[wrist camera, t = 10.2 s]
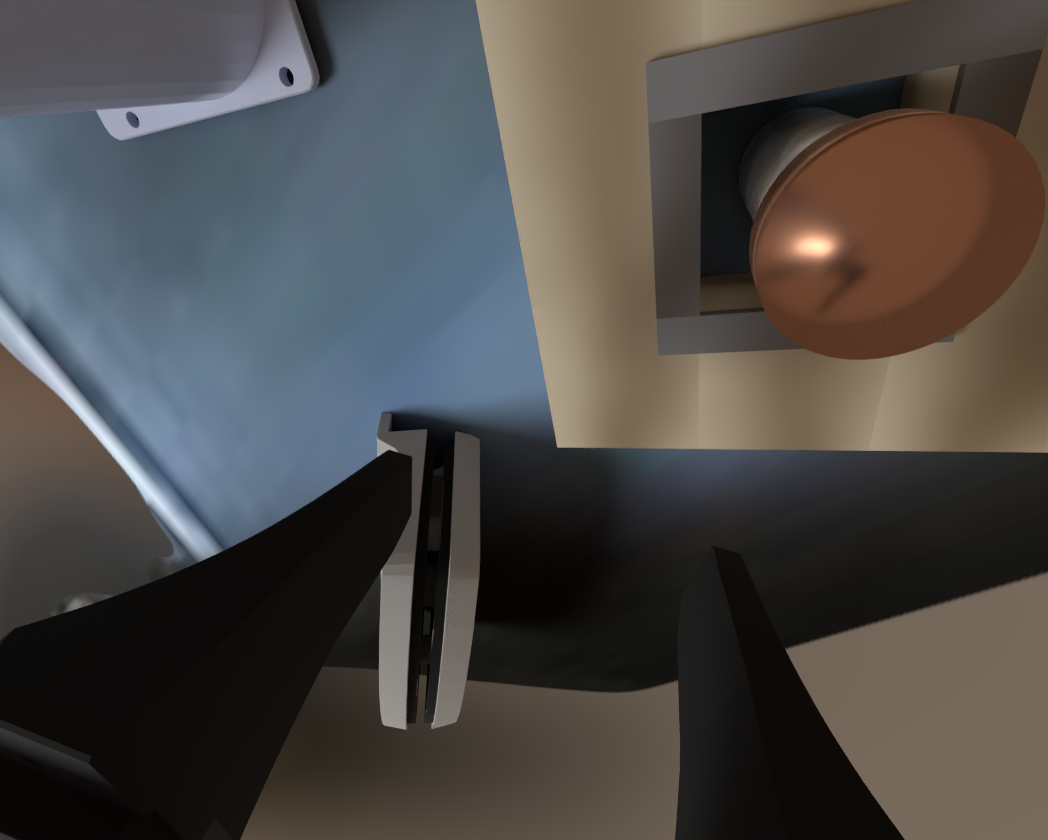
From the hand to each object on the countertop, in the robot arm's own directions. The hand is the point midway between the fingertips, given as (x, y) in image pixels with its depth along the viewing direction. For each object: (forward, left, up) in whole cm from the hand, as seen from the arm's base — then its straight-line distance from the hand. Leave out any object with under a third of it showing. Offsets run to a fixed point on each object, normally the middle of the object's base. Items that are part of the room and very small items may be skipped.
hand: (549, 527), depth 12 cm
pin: (+6, +6, -9) cm, 12 cm away
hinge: (-10, -12, -10) cm, 18 cm away
